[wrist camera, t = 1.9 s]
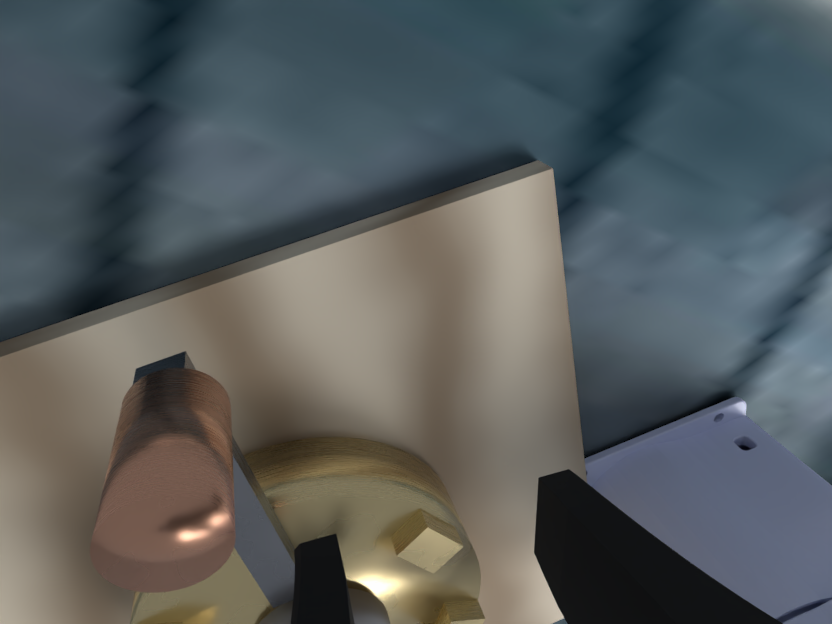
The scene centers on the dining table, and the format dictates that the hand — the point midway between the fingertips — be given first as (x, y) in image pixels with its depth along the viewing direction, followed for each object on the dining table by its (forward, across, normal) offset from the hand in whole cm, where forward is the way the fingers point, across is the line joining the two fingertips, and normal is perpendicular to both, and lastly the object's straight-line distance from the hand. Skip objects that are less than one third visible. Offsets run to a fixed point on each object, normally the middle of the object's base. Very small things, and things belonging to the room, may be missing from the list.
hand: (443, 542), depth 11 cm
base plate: (+10, +3, +11) cm, 15 cm away
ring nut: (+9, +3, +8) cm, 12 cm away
